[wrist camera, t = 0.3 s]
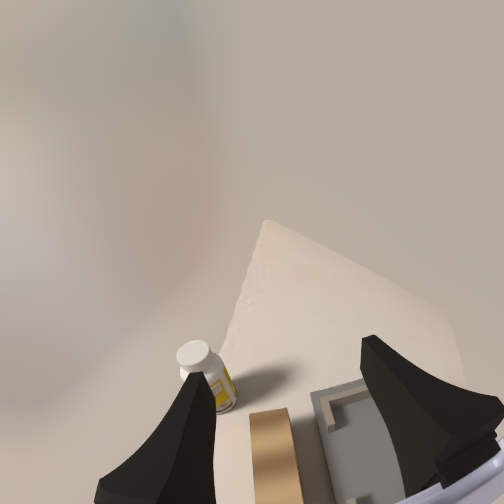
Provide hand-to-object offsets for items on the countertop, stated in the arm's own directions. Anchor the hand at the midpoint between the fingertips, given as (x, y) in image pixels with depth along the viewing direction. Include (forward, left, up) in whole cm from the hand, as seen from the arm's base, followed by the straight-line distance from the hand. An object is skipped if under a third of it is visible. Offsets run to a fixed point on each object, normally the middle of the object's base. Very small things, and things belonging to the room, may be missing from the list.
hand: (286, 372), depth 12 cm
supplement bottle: (+14, +10, -21) cm, 27 cm away
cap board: (+1, -7, -21) cm, 22 cm away
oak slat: (+1, +3, -21) cm, 21 cm away
